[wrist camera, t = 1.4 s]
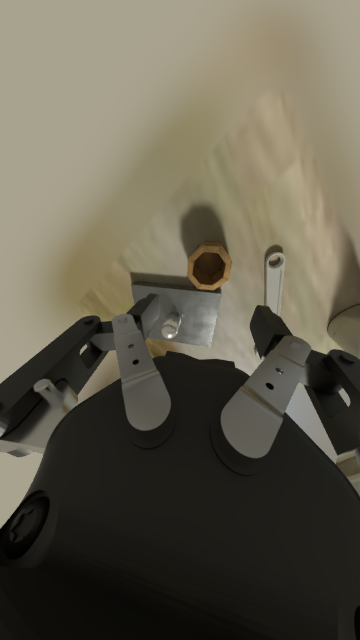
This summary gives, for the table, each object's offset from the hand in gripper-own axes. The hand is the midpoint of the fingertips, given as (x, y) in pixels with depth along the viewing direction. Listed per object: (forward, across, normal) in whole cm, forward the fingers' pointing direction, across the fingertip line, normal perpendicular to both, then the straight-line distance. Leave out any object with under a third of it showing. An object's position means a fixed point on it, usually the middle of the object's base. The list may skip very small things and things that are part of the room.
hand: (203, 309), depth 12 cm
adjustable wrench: (+18, -15, +10) cm, 25 cm away
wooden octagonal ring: (+17, 0, 0) cm, 17 cm away
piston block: (+17, +6, +12) cm, 22 cm away
